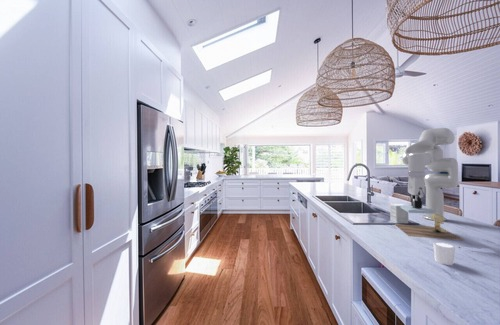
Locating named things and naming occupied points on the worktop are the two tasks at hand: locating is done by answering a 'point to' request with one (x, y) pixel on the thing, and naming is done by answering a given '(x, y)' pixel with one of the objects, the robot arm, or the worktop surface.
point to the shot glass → (444, 253)
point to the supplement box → (398, 214)
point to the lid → (417, 209)
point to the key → (438, 222)
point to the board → (426, 232)
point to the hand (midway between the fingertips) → (416, 206)
